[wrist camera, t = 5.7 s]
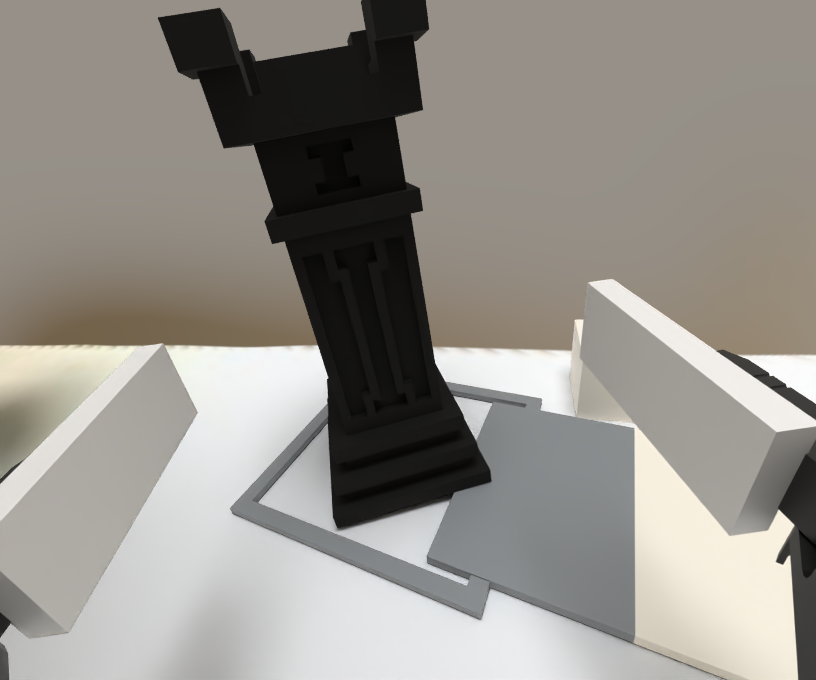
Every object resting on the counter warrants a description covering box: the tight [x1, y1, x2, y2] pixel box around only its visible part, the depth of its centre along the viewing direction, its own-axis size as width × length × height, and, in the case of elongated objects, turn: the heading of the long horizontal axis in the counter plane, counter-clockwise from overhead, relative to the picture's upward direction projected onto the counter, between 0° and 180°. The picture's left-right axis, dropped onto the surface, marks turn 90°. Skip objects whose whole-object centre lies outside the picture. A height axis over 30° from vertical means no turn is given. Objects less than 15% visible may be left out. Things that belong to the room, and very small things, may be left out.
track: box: [427, 402, 798, 680], centre depth 17 cm, size 24×11×1 cm, turn 65°
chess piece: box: [158, 0, 492, 528], centre depth 19 cm, size 8×8×20 cm
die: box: [570, 320, 634, 423], centre depth 24 cm, size 4×4×5 cm
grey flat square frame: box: [230, 382, 542, 619], centre depth 23 cm, size 14×14×1 cm
